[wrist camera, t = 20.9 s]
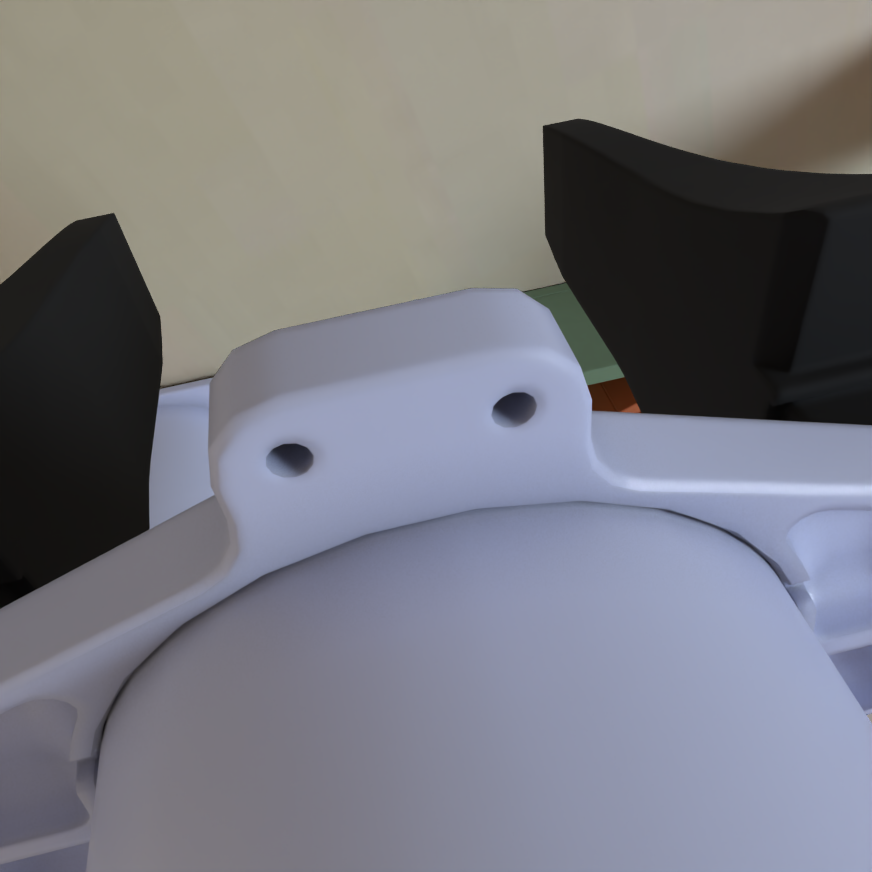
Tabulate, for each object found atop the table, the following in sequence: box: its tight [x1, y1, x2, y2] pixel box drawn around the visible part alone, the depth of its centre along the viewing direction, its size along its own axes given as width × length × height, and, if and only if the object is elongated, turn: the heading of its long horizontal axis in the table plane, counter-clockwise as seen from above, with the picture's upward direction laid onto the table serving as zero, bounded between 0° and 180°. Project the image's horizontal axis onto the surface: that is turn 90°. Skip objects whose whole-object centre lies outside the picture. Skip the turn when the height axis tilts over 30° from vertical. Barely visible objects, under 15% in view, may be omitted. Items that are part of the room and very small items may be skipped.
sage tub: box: [523, 283, 624, 385], centre depth 32 cm, size 13×17×5 cm
